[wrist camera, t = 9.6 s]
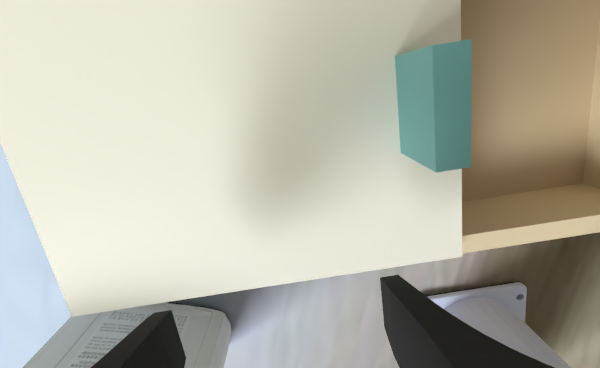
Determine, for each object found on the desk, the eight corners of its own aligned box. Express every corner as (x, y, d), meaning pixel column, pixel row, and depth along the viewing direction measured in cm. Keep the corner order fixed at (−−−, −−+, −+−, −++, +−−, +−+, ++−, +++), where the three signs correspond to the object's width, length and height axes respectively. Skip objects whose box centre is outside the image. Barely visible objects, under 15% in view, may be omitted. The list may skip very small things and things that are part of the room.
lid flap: (456, 250, 17) (509, 301, 13) (79, 308, 16) (15, 377, 13) (451, -113, 12) (530, -208, 8) (-59, -35, 12) (-223, -93, 8)
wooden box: (585, 191, 22) (670, 221, 17) (287, 237, 22) (288, 280, 17) (616, -95, 17) (744, -166, 12) (239, -38, 17) (222, -86, 12)
